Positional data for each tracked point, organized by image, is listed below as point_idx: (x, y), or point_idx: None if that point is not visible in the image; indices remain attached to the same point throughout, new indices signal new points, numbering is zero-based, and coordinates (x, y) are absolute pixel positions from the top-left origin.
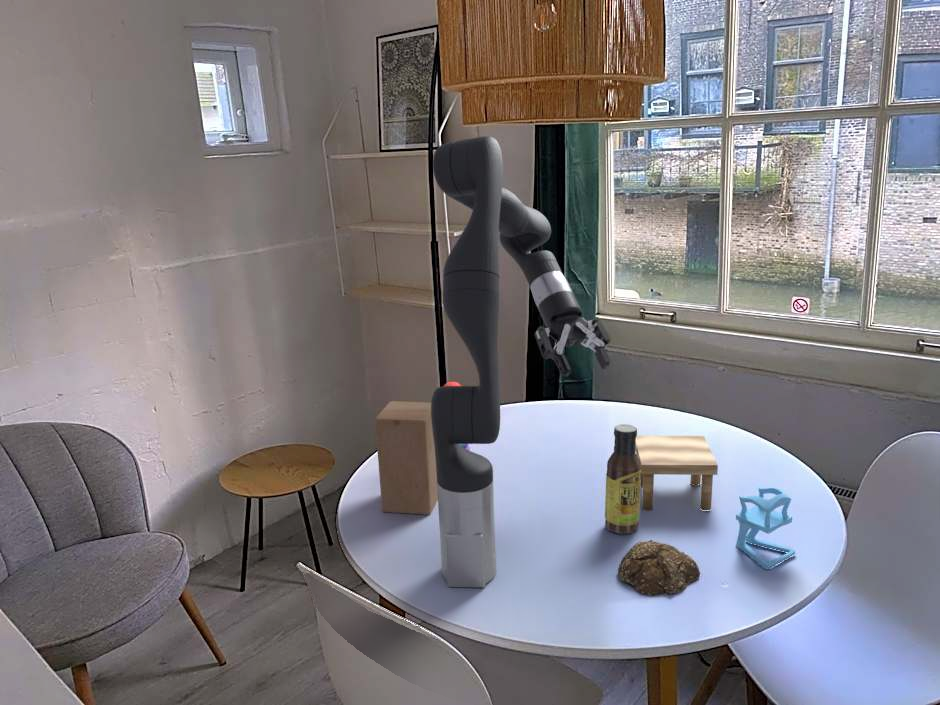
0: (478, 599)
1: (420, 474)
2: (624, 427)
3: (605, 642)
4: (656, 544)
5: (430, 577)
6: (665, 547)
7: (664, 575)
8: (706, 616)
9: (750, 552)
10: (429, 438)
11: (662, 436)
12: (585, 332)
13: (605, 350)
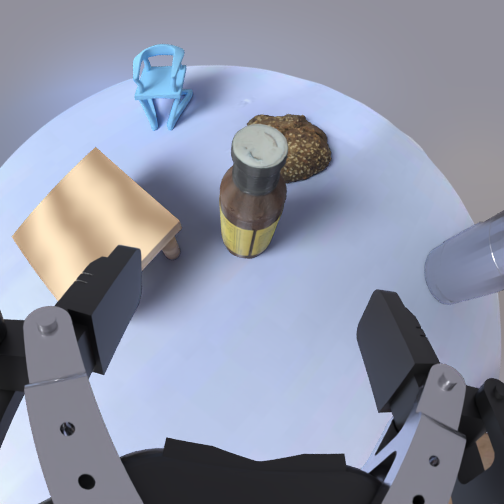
0: (452, 231)
1: None
2: (260, 147)
3: (388, 124)
4: None
5: None
6: None
7: (302, 121)
8: (298, 91)
9: (181, 107)
10: (486, 453)
11: (50, 285)
12: (112, 467)
13: (60, 301)
